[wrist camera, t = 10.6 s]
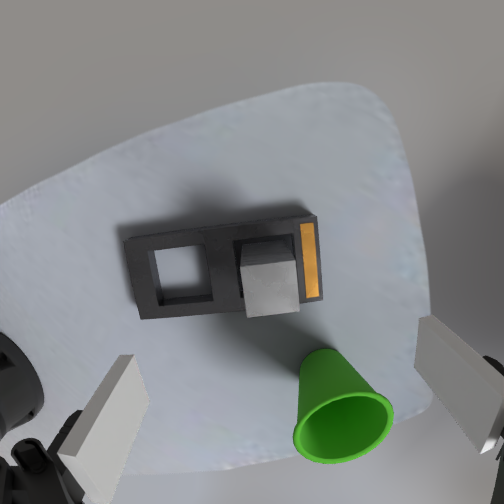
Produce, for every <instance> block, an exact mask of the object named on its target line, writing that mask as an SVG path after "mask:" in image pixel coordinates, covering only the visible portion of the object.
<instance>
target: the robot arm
mask: <svg viewBox="0 0 504 504" xmlns="http://www.w3.org/2000/svg"><path fill="white" fill-rule="evenodd" d="M414 368H415V369H416V370H417V372H418V373H419V374H420V375H421V377H422V378H423V379H424V380H425V382H426V383H427V384H428V386H429V387H430V388H431V389H432V391H433V392H434V393H435V395H437V397H438V398H439V400H440V401H441V402H442V403H443V405H444V406H445V408H446V409H447V410H448V411H449V413H450V414H451V415H452V417H453V418H454V419H455V421H456V422H457V423H458V425H459V426H460V427H461V428H462V430H463V431H464V433H465V434H466V436H467V437H468V438H469V440H470V441H471V442H472V444H473V445H474V446H475V448H476V449H477V451H478V452H479V453H480V454H481V453H484V452H485V451H487V450H489V449H491V448H493V447H495V446H496V444H497V442H498V439H499V437H500V435H501V436H502V437H503V439H504V367H503V365H502V364H500V363H499V362H498V361H497V360H495V359H493V358H491V357H488V356H483V357H481V356H480V355H479V354H478V353H477V352H476V351H475V350H473V349H472V348H471V347H470V346H469V345H468V344H466V343H465V342H464V341H463V340H462V339H461V338H459V337H458V336H457V335H456V334H455V333H453V332H452V331H451V330H450V329H449V328H447V327H446V326H445V325H444V324H443V323H442V322H440V321H439V320H438V319H437V318H436V317H434V316H433V315H430V316H426V317H422V318H419V326H418V337H417V346H416V355H415V363H414ZM149 403H150V400H149V397H148V394H147V392H146V389H145V386H144V383H143V380H142V377H141V374H140V371H139V368H138V365H137V362H136V359H135V355H119V357H118V358H117V360H116V361H115V363H114V364H113V366H112V367H111V369H110V370H109V372H108V373H107V375H106V376H105V378H104V379H103V381H102V382H101V384H100V385H99V387H98V388H97V390H96V391H95V393H94V395H93V396H92V398H91V399H90V401H89V402H88V404H87V405H86V407H85V409H84V410H77V411H76V412H74V413H73V414H72V415H71V416H69V417H68V419H67V420H66V422H65V423H64V425H63V427H62V428H61V429H60V431H59V433H58V434H57V435H56V437H55V439H54V440H53V442H52V443H51V445H50V446H49V448H48V449H47V451H46V450H45V448H44V447H43V445H42V444H41V442H40V441H39V440H37V439H35V438H27V439H23V440H21V441H19V442H18V443H16V444H15V445H14V447H13V448H12V450H11V456H12V457H13V459H14V460H15V462H16V463H17V464H18V466H9V464H8V463H7V462H6V460H5V459H4V458H2V457H1V456H0V504H84V502H83V501H82V499H83V496H84V494H86V495H87V496H88V498H89V499H90V500H91V501H92V502H95V503H99V504H111V501H112V498H113V496H114V493H115V490H116V487H117V485H118V482H119V479H120V477H121V474H122V471H123V469H124V466H125V464H126V461H127V458H128V456H129V453H130V451H131V448H132V445H133V443H134V440H135V438H136V435H137V433H138V430H139V428H140V425H141V423H142V420H143V418H144V415H145V413H146V410H147V408H148V405H149ZM43 404H44V393H43V388H42V385H41V382H40V380H39V378H38V375H37V373H36V372H35V370H34V368H33V366H32V365H31V363H30V362H29V360H28V359H27V358H26V356H25V355H24V354H23V353H22V351H21V350H20V349H19V348H18V347H17V346H16V345H15V344H14V343H13V342H12V341H11V340H9V339H8V338H7V337H5V336H4V335H2V334H1V333H0V441H1V439H2V438H3V437H4V435H5V434H6V433H7V432H8V431H10V430H13V429H15V428H17V427H19V426H21V425H23V424H25V423H27V422H29V421H30V420H32V419H33V418H34V417H35V416H36V415H37V414H38V413H39V411H40V410H41V409H42V407H43ZM500 456H501V457H500ZM499 457H500V462H499V468H498V473H497V478H496V483H495V488H494V492H493V496H492V500H491V504H504V443H503V445H502V448H501V449H500V451H499V454H498V455H497V458H496V460H498V459H499Z"/></svg>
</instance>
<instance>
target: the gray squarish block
mask: <svg viewBox="0 0 504 504" xmlns="http://www.w3.org/2000/svg"><path fill="white" fill-rule="evenodd" d="M240 270H241V277H242V284H243V292H244V299H245V306H246V313H247V318H249V317H258V316H266V315H274V314H282V313H290V312H297V311H300V307H299V295H298V283H297V272H296V261H295V259H294V257H293V255H292V253H291V251H290V249H289V248H288V246H287V244H286V242H285V240H277V241H269V242H261V243H252V244H244V245H242V254H241V263H240Z"/></svg>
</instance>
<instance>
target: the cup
mask: <svg viewBox="0 0 504 504" xmlns="http://www.w3.org/2000/svg"><path fill="white" fill-rule="evenodd" d="M393 416H394V412H393V408H392V405H391V403H390V402H389V401H388V399H387V398H385V397H384V396H382V395H381V394H379V393H376V392H375V391H374V390H373V388H372V387H371V386H370V385H369V384H368V383H367V382H366V381H365V380H364V379H363V378H362V376H361V375H360V374H359V373H358V372H357V371H356V370H355V369H354V368H353V367H352V365H351V364H350V363H349V362H348V361H347V360H346V359H345V358H344V357H343V356H342V355H341V354H340V353H339V352H337V351H335V350H332V349H319V350H316V351H314V352H312V353H310V354H309V355H308V356H307V357H306V358H305V359H304V360H303V362H302V364H301V366H300V371H299V397H298V418H297V424H296V426H295V428H294V433H293V443H294V446H295V448H296V449H297V451H298V452H299V453H300V454H301V455H302V456H304V457H305V458H306V459H309V460H311V461H313V462H318V463H323V464H336V463H342V462H347V461H350V460H353V459H356V458H358V457H360V456H362V455H364V454H366V453H368V452H369V451H371V450H372V449H374V448H375V447H376V446H377V445H378V444H380V443H381V442H382V441H383V440H384V438H385V437H386V435H387V434H388V433H389V431H390V428H391V426H392V424H393Z"/></svg>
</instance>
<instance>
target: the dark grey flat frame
mask: <svg viewBox="0 0 504 504" xmlns="http://www.w3.org/2000/svg"><path fill="white" fill-rule="evenodd" d="M290 233H291V236H292V246H293V256H294V259H295V261H296V272H297V283H298V295H299V303H307V302H314V301H321V300H323V291H322V274H321V260H320V246H319V234H318V222H317V216H315V215H314V214H309V215H300V216H291V217H282V218H273V219H265V220H257V221H249V222H240V223H232V224H225V225H217V226H209V227H202V228H194V229H187V230H180V231H172V232H165V233H158V234H151V235H144V236H138V237H131V238H129V239H127V240H125V241H123V242H124V248H125V253H126V258H127V263H128V267H129V272H130V277H131V281H132V286H133V290H134V295H135V299H136V303H137V307H138V311H139V315H140V319H141V320H142V319H156V318H169V317H181V316H192V315H203V314H213V313H223V312H233V311H242V310H246V306H245V299H244V292H243V291H241V289H240V282H239V274H238V267H237V260H236V253H235V245H234V240H241V239H249V238H257V237H265V236H274V235H282V234H290ZM201 244H205V250H206V256H207V262H208V269H209V275H210V281H211V287H212V293H213V294H210V295H200V296H190V297H180V298H170V299H164V298H163V294H162V289H161V284H160V279H159V274H158V269H157V264H156V259H155V253H154V250H162V249H169V248H177V247H185V246H193V245H201Z"/></svg>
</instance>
